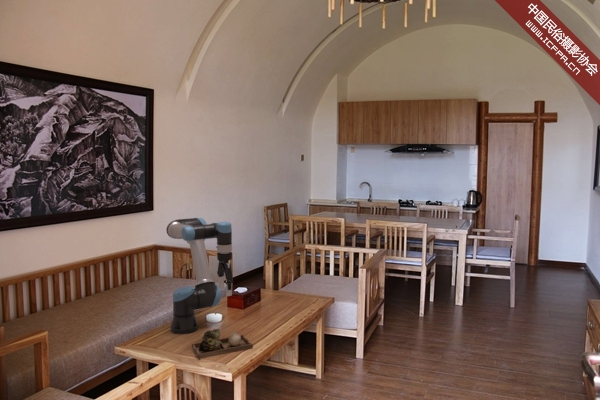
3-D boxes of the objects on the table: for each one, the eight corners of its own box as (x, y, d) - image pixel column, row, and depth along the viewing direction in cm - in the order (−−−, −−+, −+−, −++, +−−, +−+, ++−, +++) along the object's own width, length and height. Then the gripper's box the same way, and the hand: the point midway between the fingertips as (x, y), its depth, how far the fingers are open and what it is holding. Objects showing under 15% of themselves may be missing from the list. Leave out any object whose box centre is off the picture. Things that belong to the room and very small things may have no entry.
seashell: (196, 347, 247) (196, 328, 246) (219, 344, 251) (218, 325, 250) (199, 356, 237) (198, 336, 236) (222, 352, 241) (222, 333, 240)
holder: (191, 349, 247) (191, 344, 247) (243, 339, 259) (243, 334, 259) (199, 360, 235) (199, 354, 234) (252, 349, 247) (252, 344, 246)
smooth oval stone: (226, 344, 251) (226, 332, 251) (238, 342, 254) (238, 329, 254) (230, 349, 245) (230, 336, 245) (243, 346, 248) (242, 334, 248)
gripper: (211, 248, 262) (211, 286, 264) (224, 257, 240) (225, 299, 242) (224, 247, 265) (225, 285, 267) (239, 256, 243) (239, 297, 245)
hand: (225, 292), depth 255 cm, fingers open, 13 cm apart
